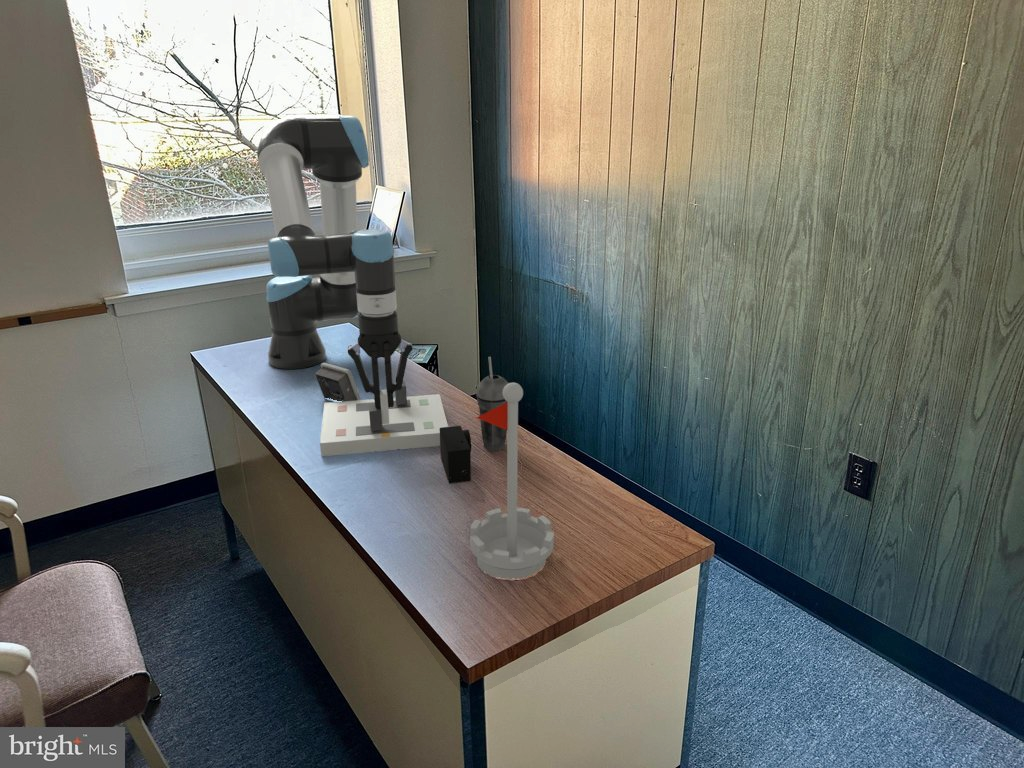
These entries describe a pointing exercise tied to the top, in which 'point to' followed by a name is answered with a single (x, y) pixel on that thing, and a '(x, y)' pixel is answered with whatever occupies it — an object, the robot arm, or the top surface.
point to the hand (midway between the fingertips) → (385, 420)
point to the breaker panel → (405, 430)
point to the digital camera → (456, 453)
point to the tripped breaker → (375, 418)
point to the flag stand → (510, 512)
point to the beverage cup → (487, 400)
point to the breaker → (401, 395)
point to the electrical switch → (337, 383)
